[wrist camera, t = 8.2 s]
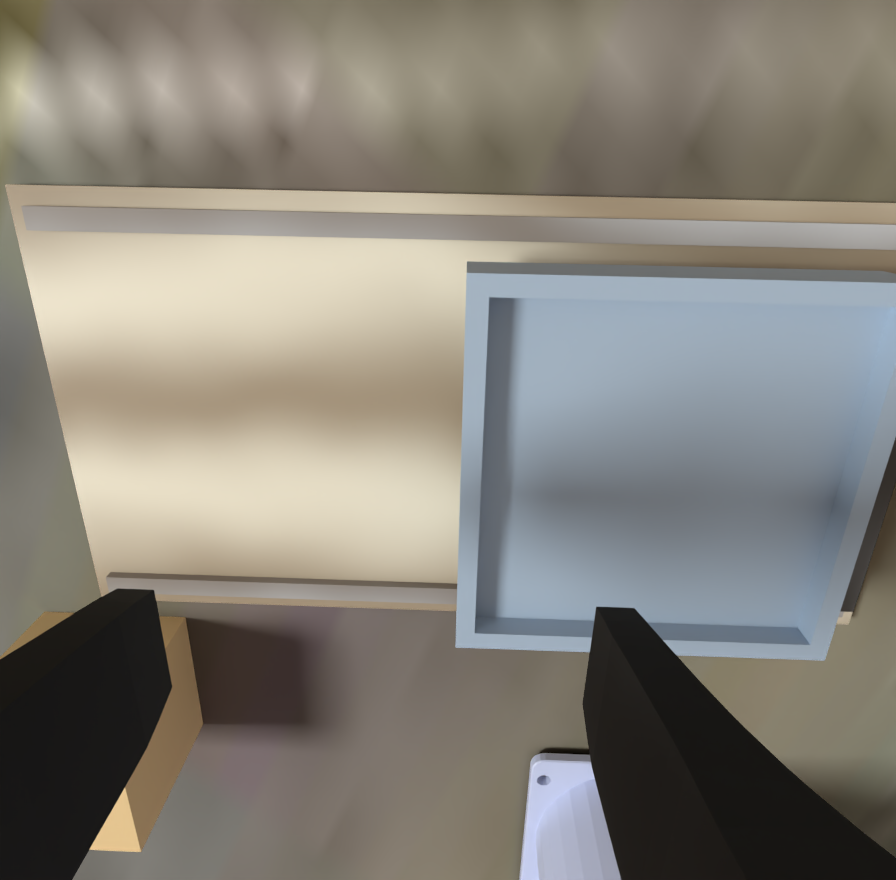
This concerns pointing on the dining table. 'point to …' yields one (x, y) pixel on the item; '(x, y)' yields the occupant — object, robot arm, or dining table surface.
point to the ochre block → (164, 750)
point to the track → (326, 366)
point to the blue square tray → (670, 452)
